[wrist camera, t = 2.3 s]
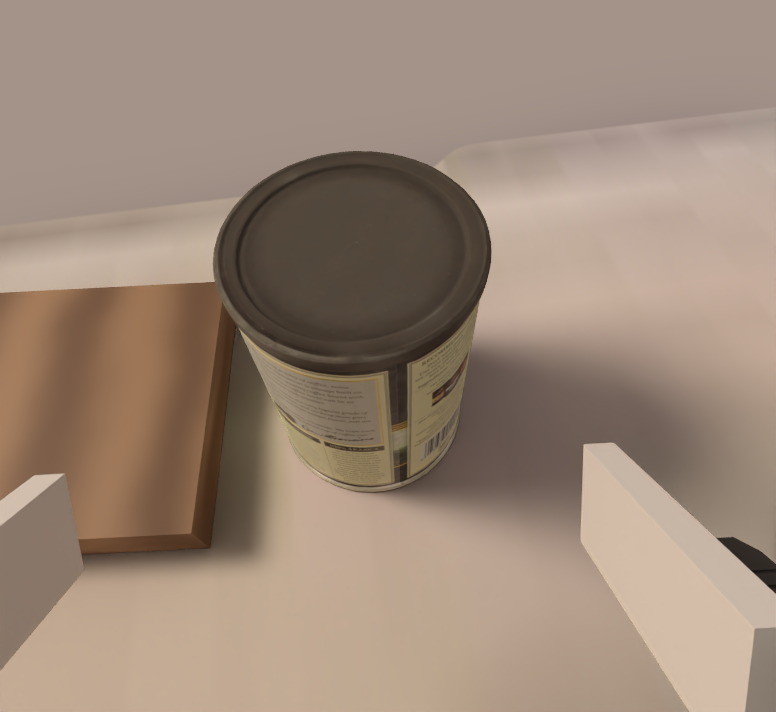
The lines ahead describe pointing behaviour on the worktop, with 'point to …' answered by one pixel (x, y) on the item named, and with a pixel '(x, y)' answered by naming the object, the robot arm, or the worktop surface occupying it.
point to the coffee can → (358, 308)
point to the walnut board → (119, 407)
